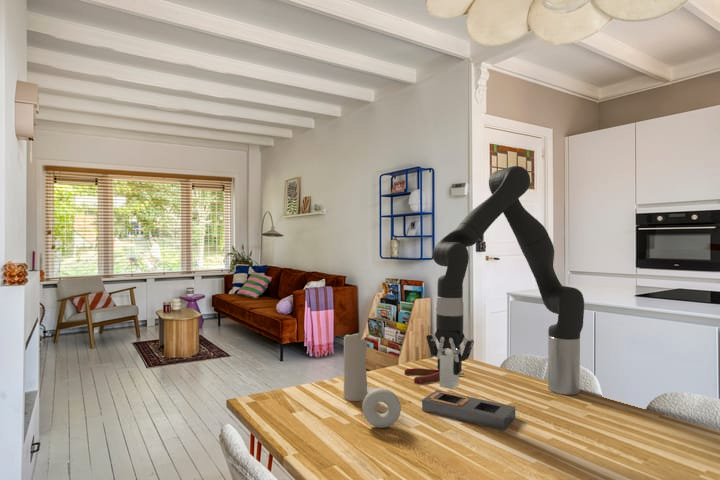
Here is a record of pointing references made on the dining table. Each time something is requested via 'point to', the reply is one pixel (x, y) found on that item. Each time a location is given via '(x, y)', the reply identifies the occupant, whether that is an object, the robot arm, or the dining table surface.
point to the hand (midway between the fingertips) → (449, 372)
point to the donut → (373, 415)
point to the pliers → (431, 374)
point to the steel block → (448, 371)
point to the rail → (469, 409)
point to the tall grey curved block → (355, 368)
